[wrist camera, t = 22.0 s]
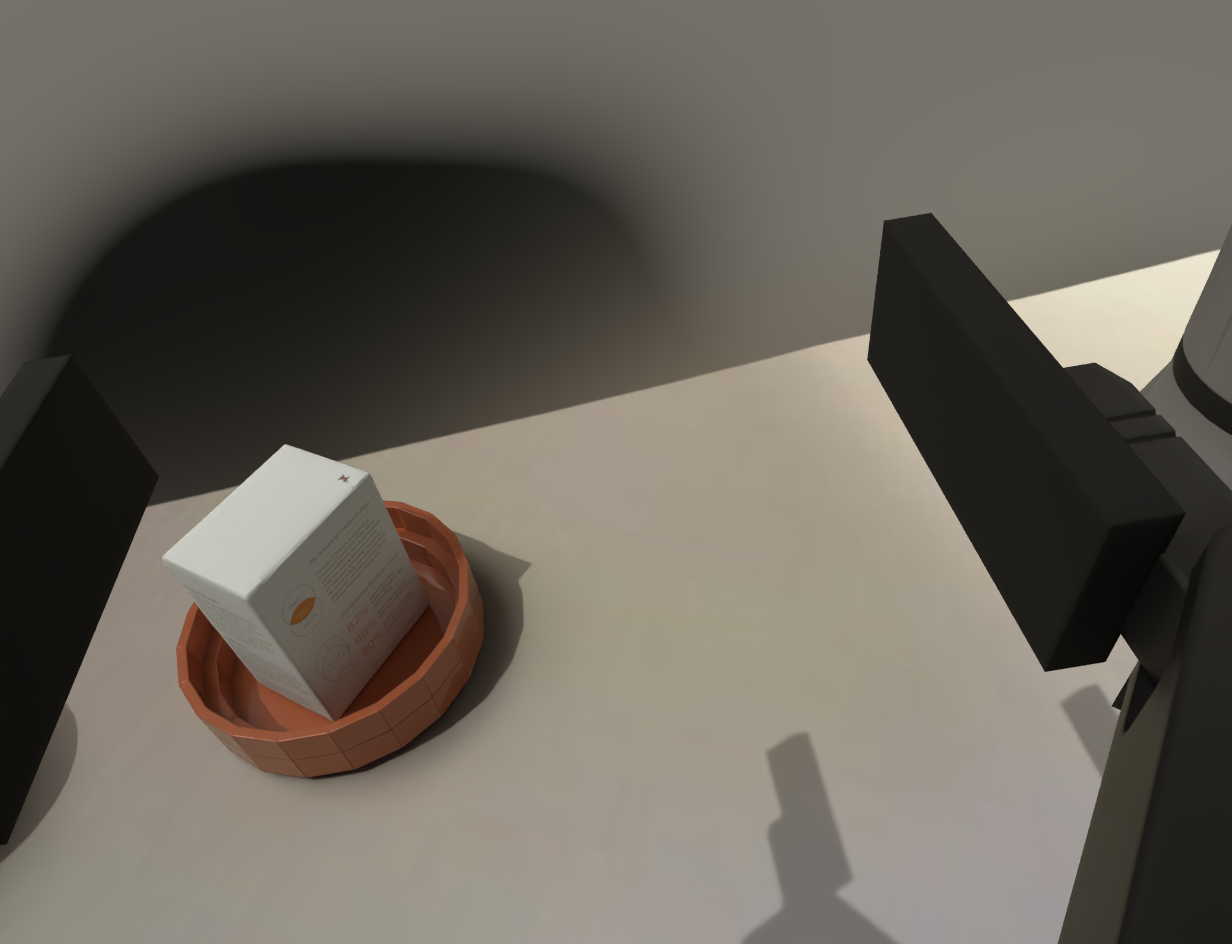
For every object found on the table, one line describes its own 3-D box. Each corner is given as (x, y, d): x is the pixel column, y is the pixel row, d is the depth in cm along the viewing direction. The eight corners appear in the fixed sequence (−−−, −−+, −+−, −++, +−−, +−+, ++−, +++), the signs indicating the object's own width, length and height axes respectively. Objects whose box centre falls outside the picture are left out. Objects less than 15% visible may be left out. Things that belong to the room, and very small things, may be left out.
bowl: (485, 527, 49) (469, 480, 47) (486, 753, 39) (466, 709, 36) (245, 568, 49) (215, 523, 47) (182, 805, 39) (138, 766, 36)
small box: (358, 573, 47) (286, 438, 40) (434, 605, 45) (373, 468, 38) (256, 686, 43) (153, 556, 35) (335, 728, 40) (243, 598, 33)
